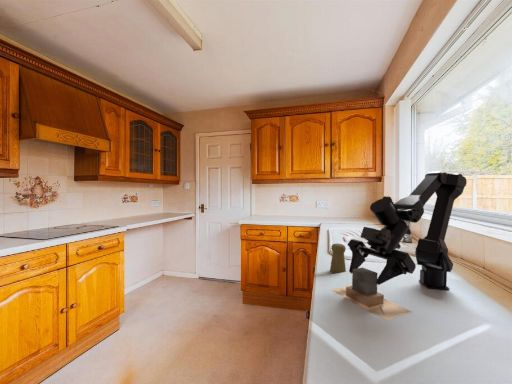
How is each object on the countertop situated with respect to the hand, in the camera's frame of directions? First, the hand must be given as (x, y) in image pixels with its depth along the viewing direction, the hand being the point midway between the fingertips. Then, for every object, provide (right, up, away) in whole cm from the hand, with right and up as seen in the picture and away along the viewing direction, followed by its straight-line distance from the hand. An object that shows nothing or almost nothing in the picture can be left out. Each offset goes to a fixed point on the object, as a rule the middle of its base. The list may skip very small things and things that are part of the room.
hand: (363, 277), depth 69 cm
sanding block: (+1, -7, 0) cm, 7 cm away
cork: (+2, -7, +26) cm, 27 cm away
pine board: (+2, -8, +1) cm, 8 cm away
